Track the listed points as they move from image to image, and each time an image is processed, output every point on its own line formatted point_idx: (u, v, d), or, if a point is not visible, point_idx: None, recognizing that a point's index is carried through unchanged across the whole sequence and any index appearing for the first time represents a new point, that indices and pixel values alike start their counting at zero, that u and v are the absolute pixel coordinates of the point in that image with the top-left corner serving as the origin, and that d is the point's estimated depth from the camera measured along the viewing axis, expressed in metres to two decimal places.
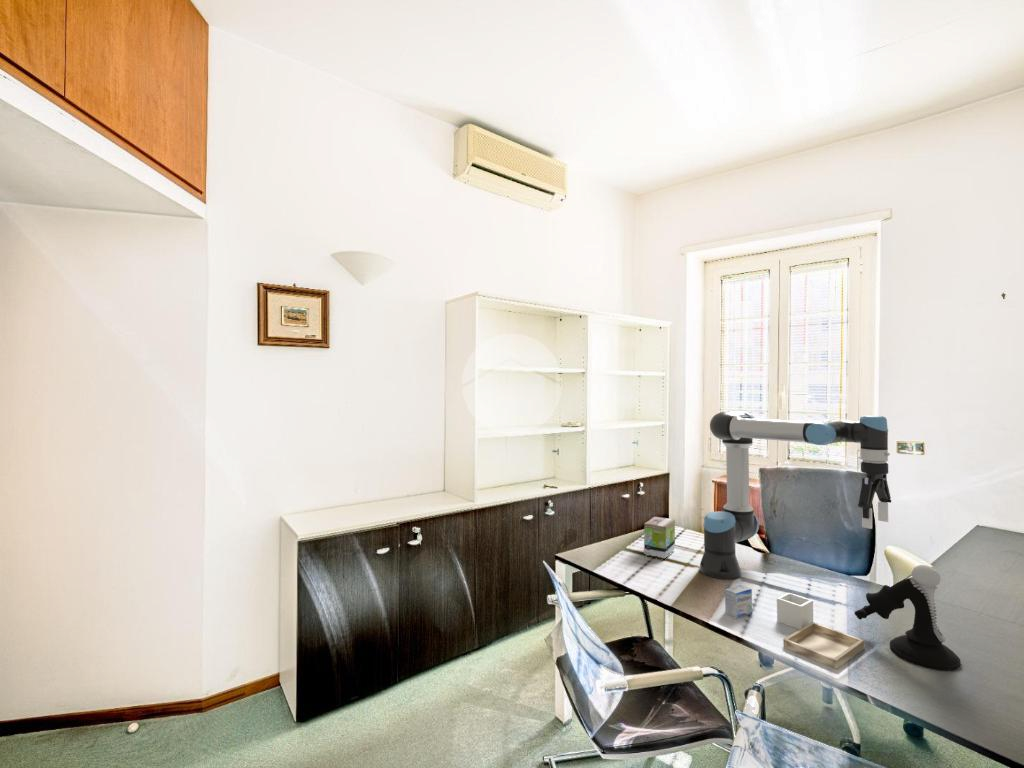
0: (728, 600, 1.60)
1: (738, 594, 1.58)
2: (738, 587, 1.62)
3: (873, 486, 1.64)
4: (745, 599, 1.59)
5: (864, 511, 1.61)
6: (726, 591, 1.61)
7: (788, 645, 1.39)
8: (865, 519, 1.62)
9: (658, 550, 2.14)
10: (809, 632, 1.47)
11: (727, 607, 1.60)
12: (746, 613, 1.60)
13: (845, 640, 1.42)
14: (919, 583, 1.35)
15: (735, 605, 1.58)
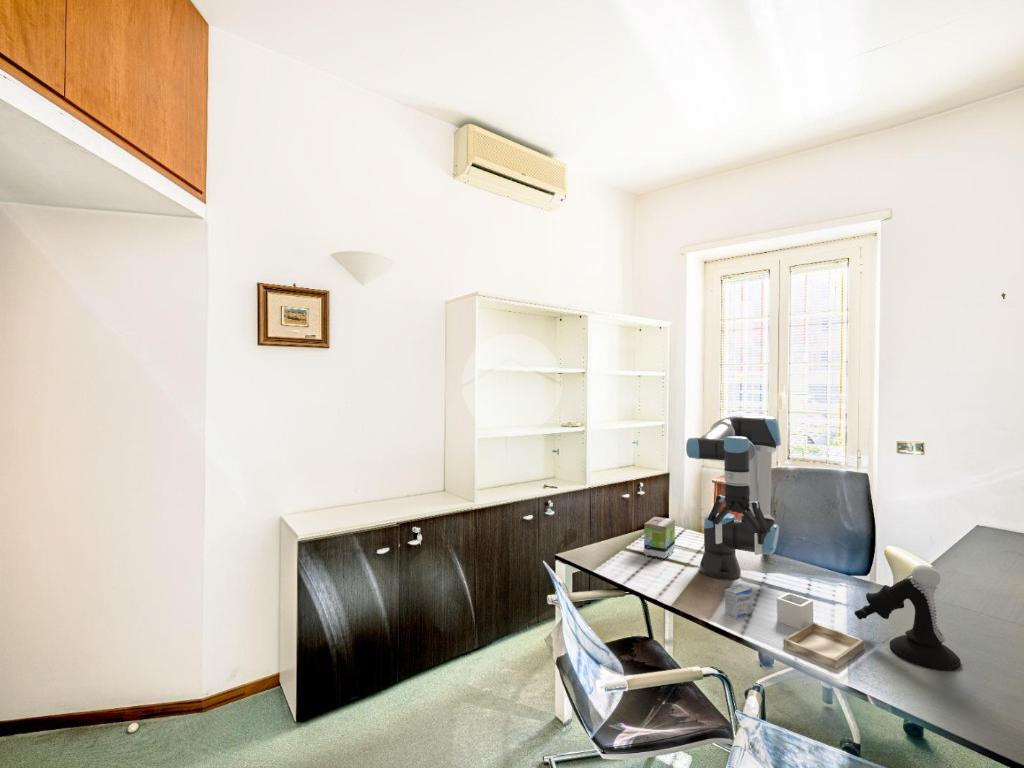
0: (728, 600, 1.60)
1: (738, 594, 1.58)
2: (738, 587, 1.62)
3: None
4: (745, 599, 1.59)
5: None
6: (726, 591, 1.61)
7: (788, 645, 1.39)
8: None
9: (658, 550, 2.14)
10: (809, 632, 1.47)
11: (727, 607, 1.60)
12: (746, 613, 1.60)
13: (845, 640, 1.42)
14: (919, 583, 1.35)
15: (735, 605, 1.58)
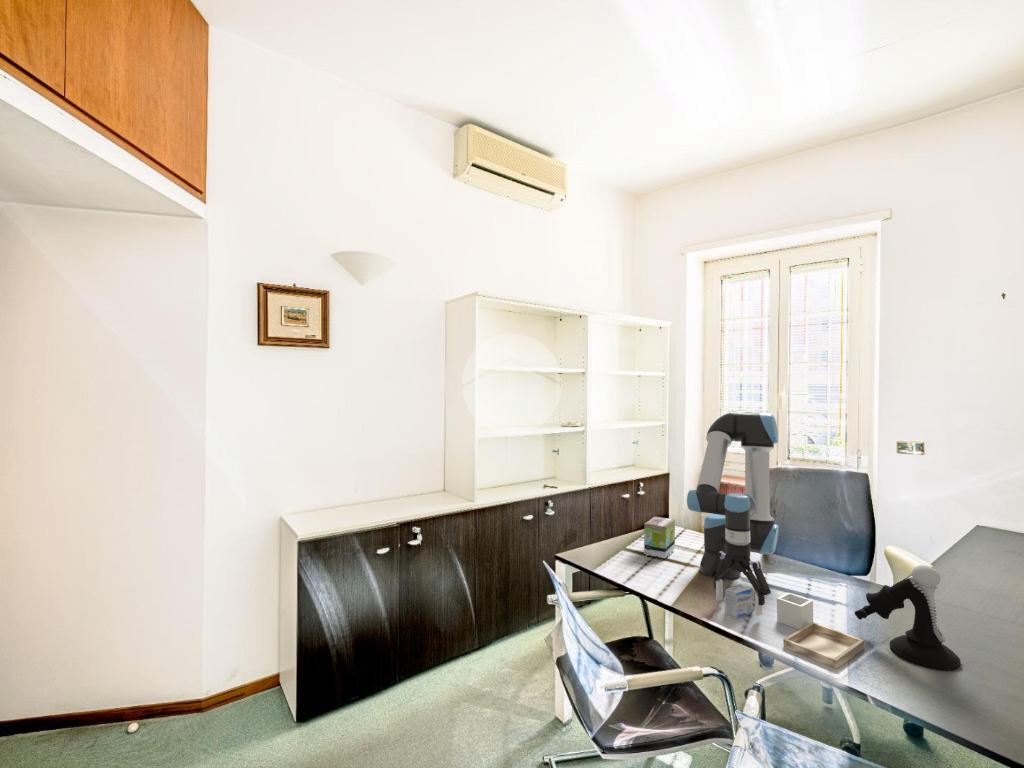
0: (728, 600, 1.60)
1: (738, 594, 1.58)
2: (738, 587, 1.62)
3: None
4: (745, 599, 1.59)
5: None
6: (726, 591, 1.61)
7: (788, 645, 1.39)
8: None
9: (658, 550, 2.14)
10: (809, 632, 1.47)
11: (727, 607, 1.60)
12: (746, 613, 1.60)
13: (845, 640, 1.42)
14: (919, 583, 1.35)
15: (735, 605, 1.58)
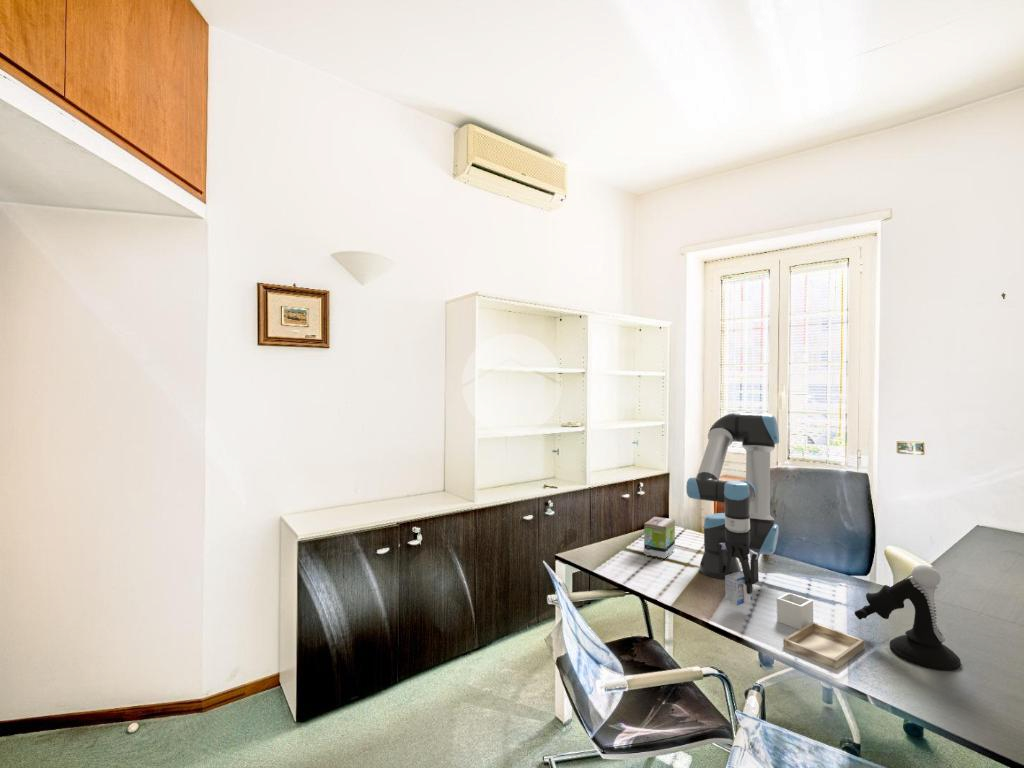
0: (728, 586, 1.60)
1: (739, 580, 1.59)
2: (738, 573, 1.63)
3: None
4: None
5: None
6: (726, 577, 1.61)
7: (788, 645, 1.39)
8: None
9: (658, 550, 2.14)
10: (809, 632, 1.47)
11: (727, 593, 1.61)
12: None
13: (845, 640, 1.42)
14: (919, 583, 1.35)
15: (736, 590, 1.58)
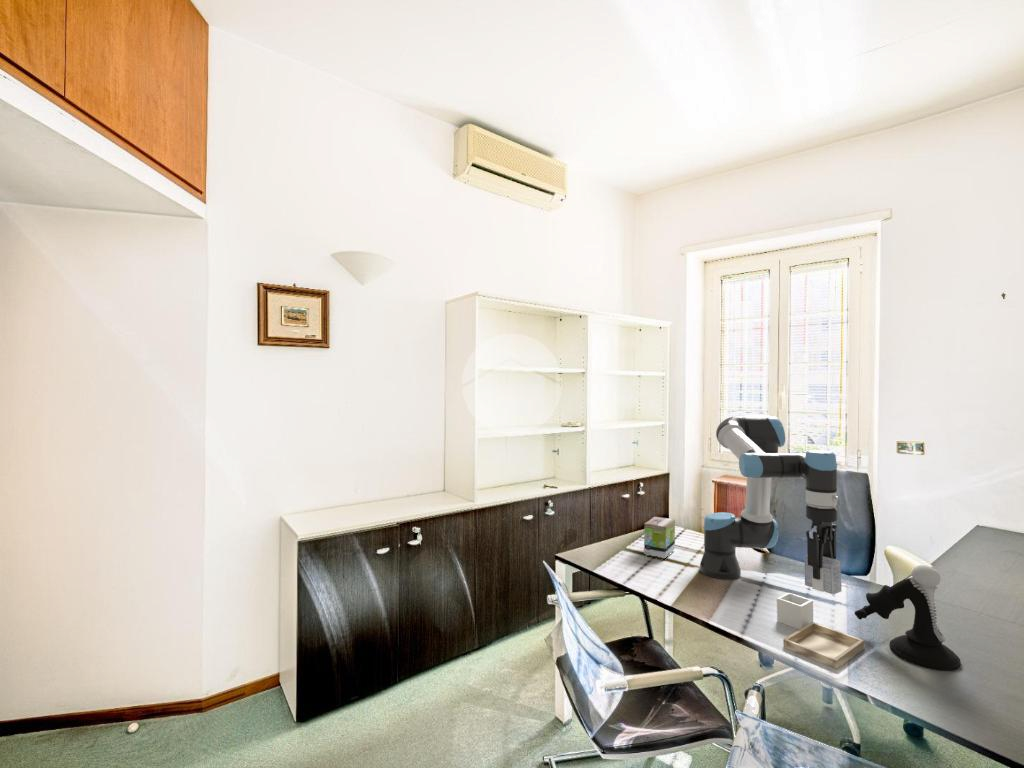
0: (835, 574, 1.36)
1: None
2: None
3: None
4: None
5: (814, 571, 1.37)
6: (833, 565, 1.35)
7: (788, 645, 1.39)
8: (816, 580, 1.38)
9: (658, 550, 2.14)
10: (809, 632, 1.47)
11: (834, 584, 1.35)
12: None
13: (845, 640, 1.42)
14: (919, 583, 1.35)
15: (840, 574, 1.37)
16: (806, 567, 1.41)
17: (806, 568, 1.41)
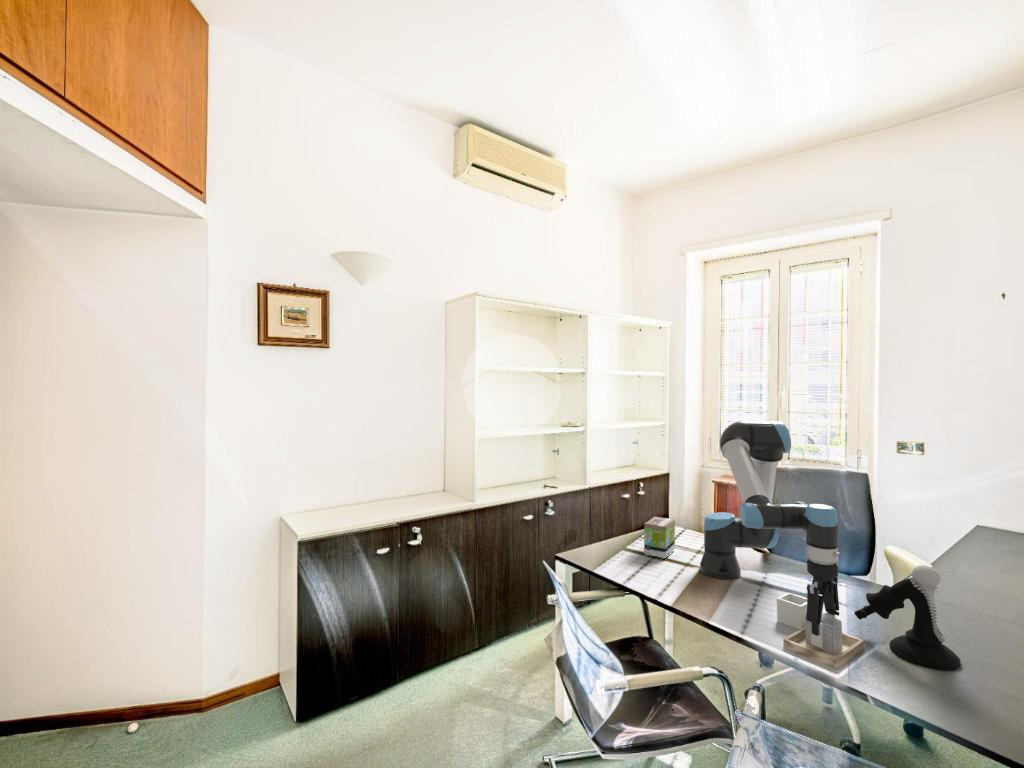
0: (836, 634, 1.35)
1: None
2: None
3: (821, 592, 1.38)
4: None
5: (813, 626, 1.36)
6: (835, 625, 1.35)
7: (788, 645, 1.39)
8: (815, 635, 1.37)
9: (658, 550, 2.14)
10: None
11: (836, 644, 1.35)
12: None
13: (845, 640, 1.42)
14: (919, 583, 1.35)
15: (841, 633, 1.37)
16: (807, 625, 1.41)
17: (807, 626, 1.41)
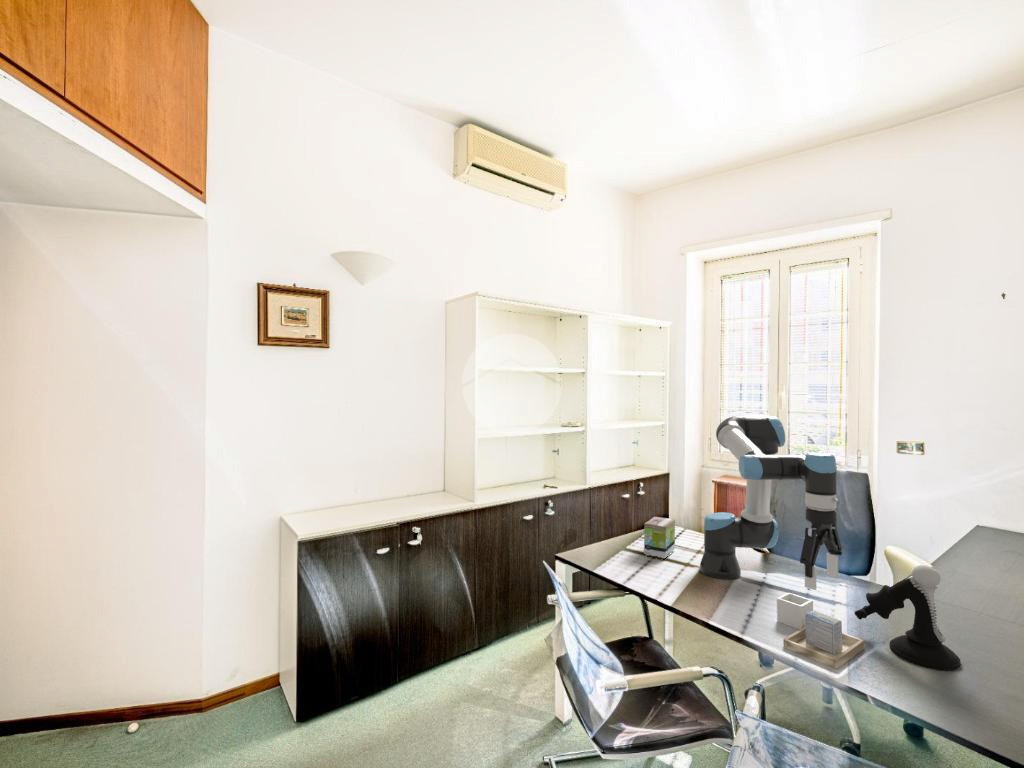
0: (836, 634, 1.35)
1: None
2: (817, 616, 1.40)
3: (819, 538, 1.38)
4: None
5: (807, 569, 1.35)
6: (835, 625, 1.35)
7: (788, 645, 1.39)
8: (808, 578, 1.36)
9: (658, 550, 2.14)
10: None
11: (836, 644, 1.35)
12: None
13: (845, 640, 1.42)
14: (919, 583, 1.35)
15: (841, 633, 1.37)
16: (807, 625, 1.41)
17: (807, 626, 1.41)
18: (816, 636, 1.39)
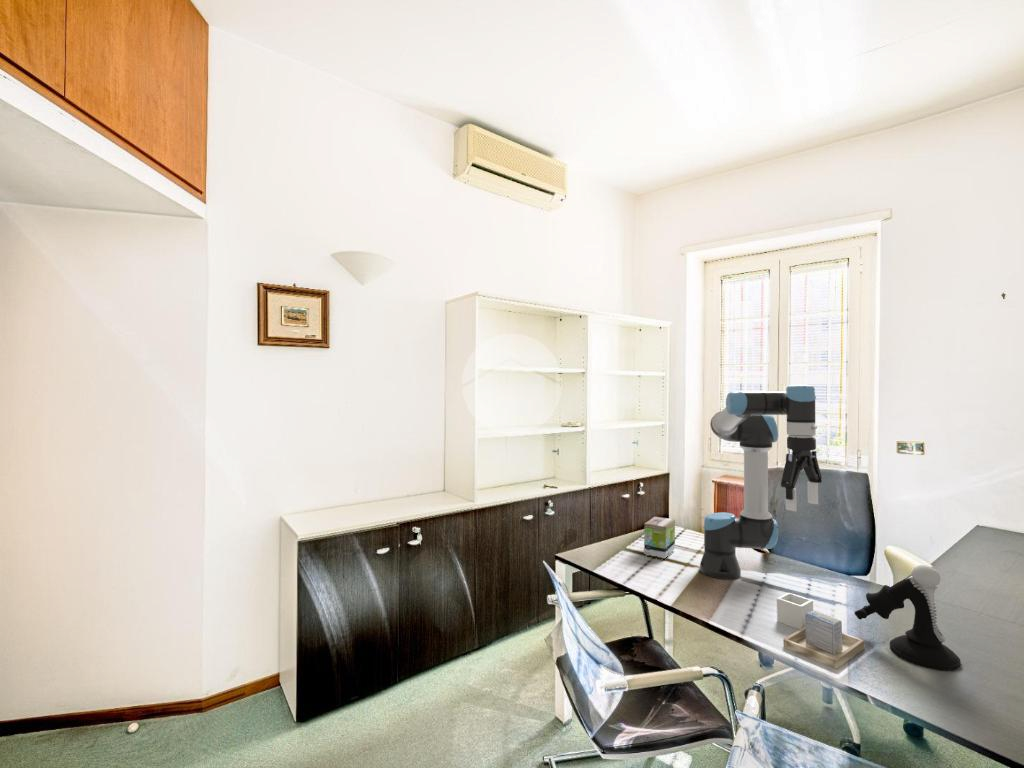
0: (836, 634, 1.35)
1: None
2: (817, 616, 1.40)
3: (799, 464, 1.46)
4: None
5: (787, 491, 1.43)
6: (835, 625, 1.35)
7: (788, 645, 1.39)
8: (789, 500, 1.44)
9: (658, 550, 2.14)
10: None
11: (836, 644, 1.35)
12: None
13: (845, 640, 1.42)
14: (919, 583, 1.35)
15: (841, 633, 1.37)
16: (807, 625, 1.41)
17: (807, 626, 1.41)
18: (816, 636, 1.39)
